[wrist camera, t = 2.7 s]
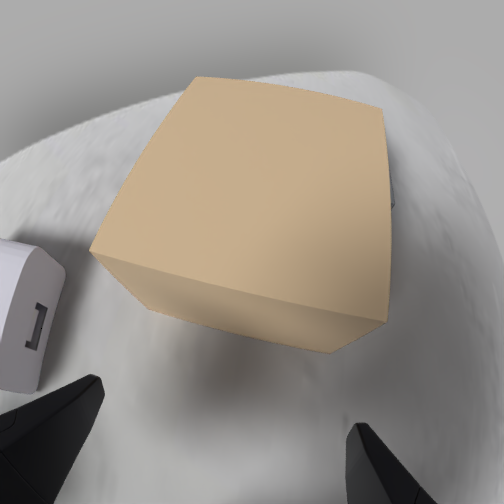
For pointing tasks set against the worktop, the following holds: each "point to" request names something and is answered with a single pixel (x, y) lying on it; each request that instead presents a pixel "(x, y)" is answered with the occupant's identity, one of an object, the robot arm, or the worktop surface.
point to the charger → (25, 312)
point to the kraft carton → (259, 215)
